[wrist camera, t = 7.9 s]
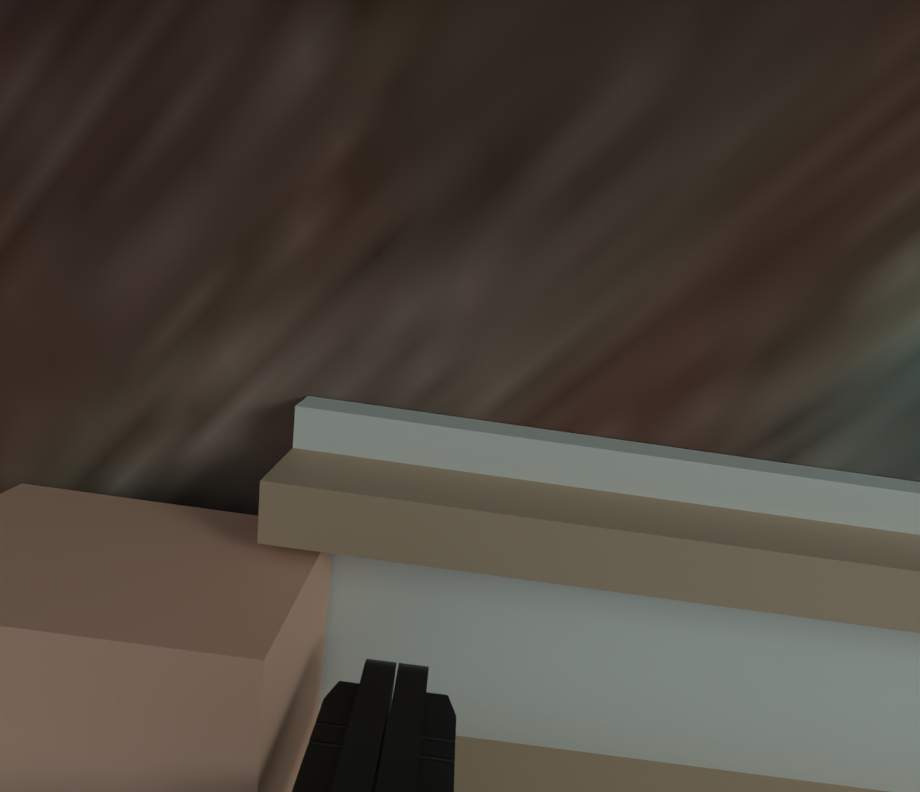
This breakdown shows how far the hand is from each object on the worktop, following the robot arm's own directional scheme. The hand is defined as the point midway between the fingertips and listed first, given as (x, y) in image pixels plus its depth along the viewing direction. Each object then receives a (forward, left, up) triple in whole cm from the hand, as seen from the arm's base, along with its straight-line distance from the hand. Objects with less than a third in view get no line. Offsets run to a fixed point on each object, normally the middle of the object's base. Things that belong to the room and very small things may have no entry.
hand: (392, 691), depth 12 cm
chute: (-8, 0, -3) cm, 8 cm away
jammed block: (+6, 0, -2) cm, 6 cm away
